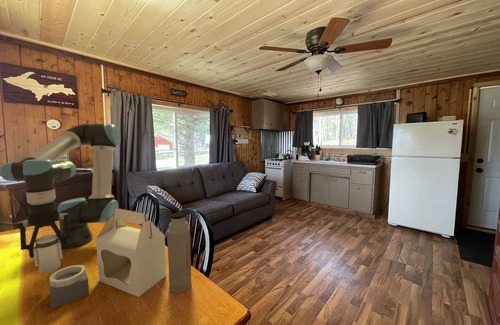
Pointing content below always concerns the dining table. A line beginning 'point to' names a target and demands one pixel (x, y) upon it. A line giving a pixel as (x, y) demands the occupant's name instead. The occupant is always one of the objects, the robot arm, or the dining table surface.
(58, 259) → the beige rounded cylinder
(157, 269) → the gable box
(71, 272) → the grey socket block
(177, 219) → the thermos bottle
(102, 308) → the dining table surface
